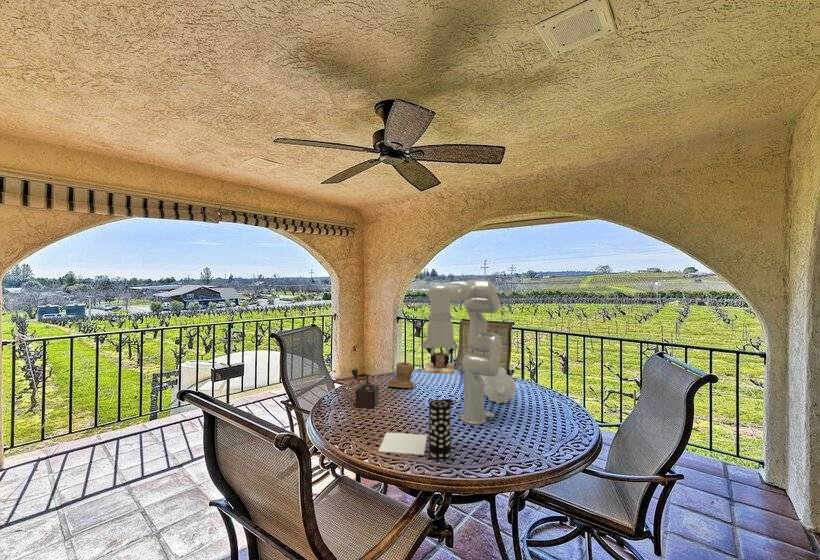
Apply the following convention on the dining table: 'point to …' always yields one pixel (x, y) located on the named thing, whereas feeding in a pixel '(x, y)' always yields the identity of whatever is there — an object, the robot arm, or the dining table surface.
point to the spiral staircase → (499, 386)
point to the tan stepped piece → (402, 376)
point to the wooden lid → (440, 365)
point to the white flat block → (403, 443)
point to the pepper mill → (366, 393)
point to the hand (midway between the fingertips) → (440, 364)
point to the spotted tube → (439, 430)
